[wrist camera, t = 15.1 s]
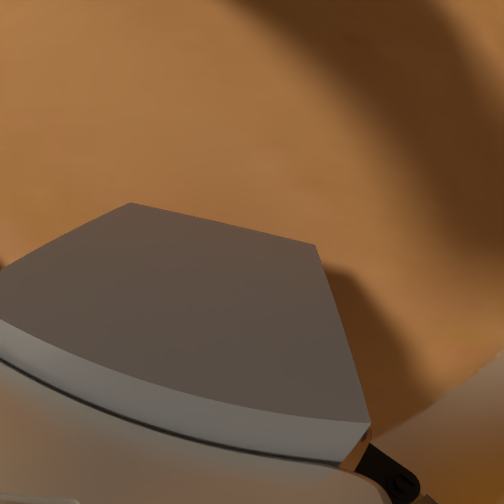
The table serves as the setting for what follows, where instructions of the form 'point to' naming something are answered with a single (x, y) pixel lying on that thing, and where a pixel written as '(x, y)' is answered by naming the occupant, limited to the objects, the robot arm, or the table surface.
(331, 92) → the table surface
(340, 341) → the matte gray cube
